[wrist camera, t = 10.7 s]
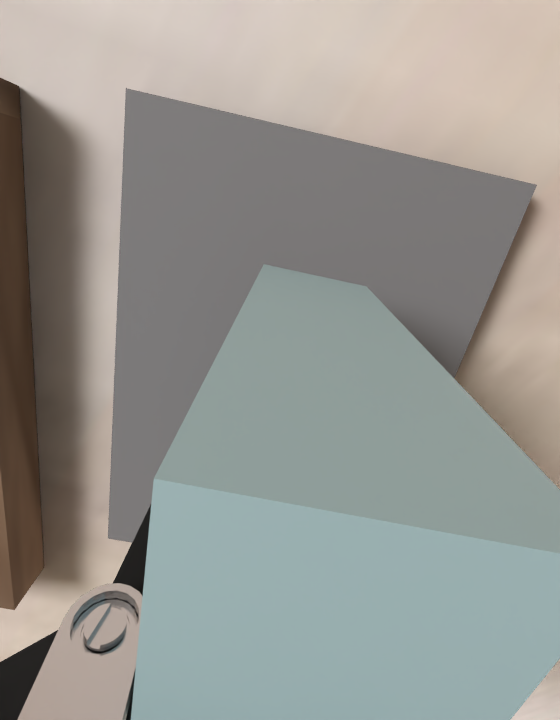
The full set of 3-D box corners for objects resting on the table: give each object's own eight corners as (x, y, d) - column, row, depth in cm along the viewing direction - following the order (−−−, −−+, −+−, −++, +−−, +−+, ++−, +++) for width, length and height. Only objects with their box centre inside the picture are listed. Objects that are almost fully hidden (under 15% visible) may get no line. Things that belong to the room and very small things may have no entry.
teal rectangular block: (366, 286, 11) (633, 567, 2) (280, 574, 15) (266, 1020, 7) (263, 264, 10) (152, 478, 2) (208, 561, 15) (103, 1001, 7)
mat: (519, 186, 14) (537, 184, 13) (362, 566, 21) (366, 583, 20) (137, 96, 13) (125, 88, 12) (116, 523, 20) (108, 538, 19)
